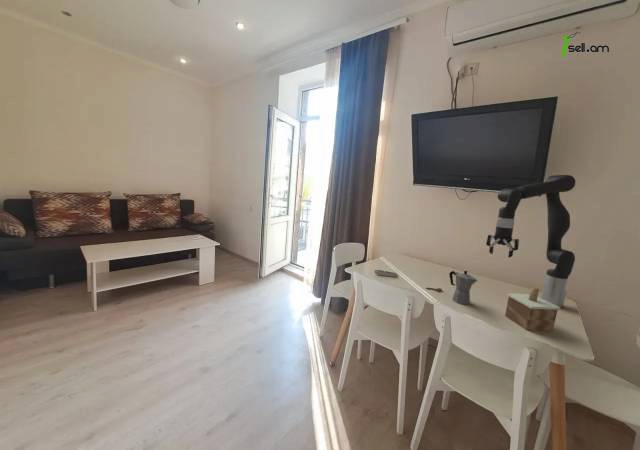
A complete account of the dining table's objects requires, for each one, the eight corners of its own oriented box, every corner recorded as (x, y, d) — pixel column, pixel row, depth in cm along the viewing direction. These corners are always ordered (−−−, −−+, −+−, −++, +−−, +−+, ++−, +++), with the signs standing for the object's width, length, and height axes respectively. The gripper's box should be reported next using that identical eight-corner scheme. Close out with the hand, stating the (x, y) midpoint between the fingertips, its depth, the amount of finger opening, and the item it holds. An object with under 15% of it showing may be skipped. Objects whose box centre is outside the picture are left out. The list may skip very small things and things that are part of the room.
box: (528, 316, 132) (533, 296, 130) (552, 331, 119) (557, 309, 117) (504, 315, 131) (508, 295, 129) (526, 330, 118) (531, 308, 117)
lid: (533, 296, 131) (535, 283, 130) (559, 309, 117) (563, 295, 116) (507, 295, 130) (509, 282, 129) (531, 308, 116) (534, 294, 115)
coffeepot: (477, 304, 143) (482, 273, 140) (468, 307, 138) (473, 276, 135) (450, 293, 155) (454, 265, 153) (441, 296, 150) (446, 267, 147)
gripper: (522, 227, 135) (518, 257, 137) (492, 224, 145) (488, 251, 148) (518, 229, 130) (513, 259, 132) (487, 224, 141) (483, 253, 143)
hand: (500, 255), depth 140 cm, fingers open, 8 cm apart
